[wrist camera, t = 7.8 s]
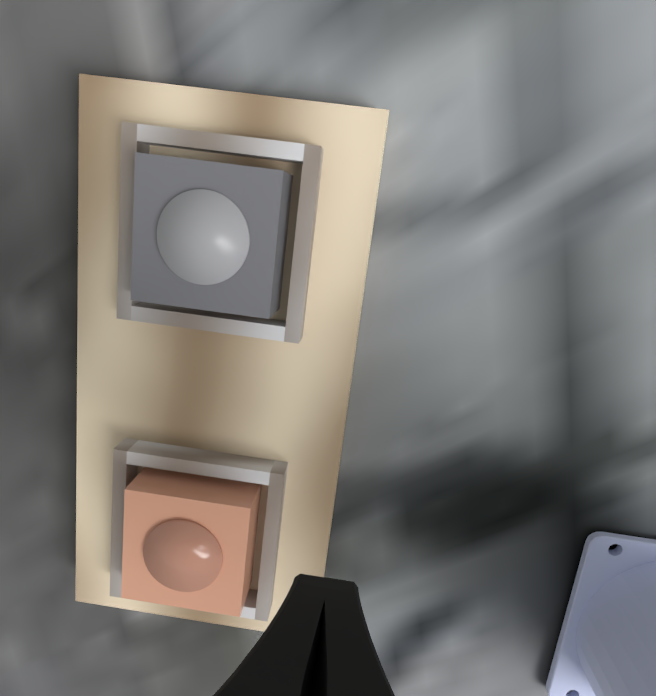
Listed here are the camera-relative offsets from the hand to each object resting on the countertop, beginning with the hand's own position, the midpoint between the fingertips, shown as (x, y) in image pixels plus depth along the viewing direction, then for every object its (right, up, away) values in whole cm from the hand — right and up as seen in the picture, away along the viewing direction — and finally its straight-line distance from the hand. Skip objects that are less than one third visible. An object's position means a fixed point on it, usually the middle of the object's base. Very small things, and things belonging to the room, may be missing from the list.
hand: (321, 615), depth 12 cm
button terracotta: (-5, -1, +9) cm, 10 cm away
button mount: (-4, +5, +9) cm, 11 cm away
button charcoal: (-3, +10, +6) cm, 12 cm away
